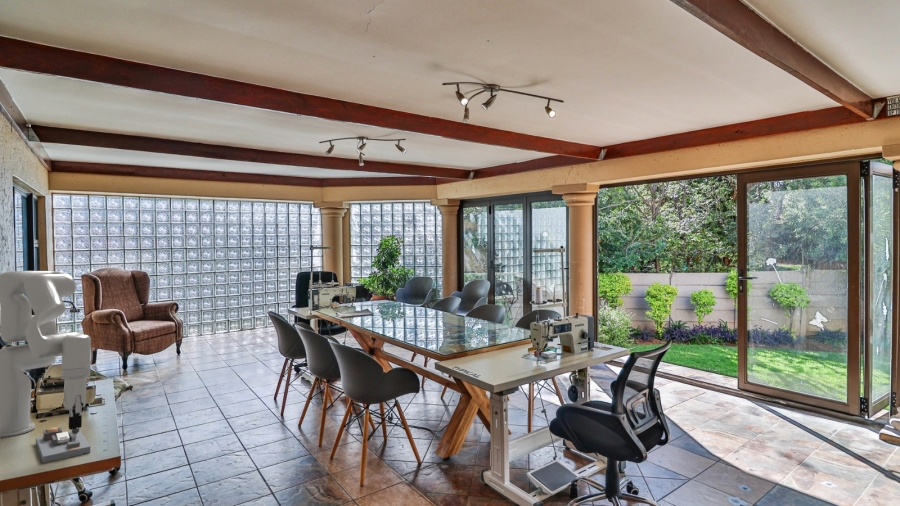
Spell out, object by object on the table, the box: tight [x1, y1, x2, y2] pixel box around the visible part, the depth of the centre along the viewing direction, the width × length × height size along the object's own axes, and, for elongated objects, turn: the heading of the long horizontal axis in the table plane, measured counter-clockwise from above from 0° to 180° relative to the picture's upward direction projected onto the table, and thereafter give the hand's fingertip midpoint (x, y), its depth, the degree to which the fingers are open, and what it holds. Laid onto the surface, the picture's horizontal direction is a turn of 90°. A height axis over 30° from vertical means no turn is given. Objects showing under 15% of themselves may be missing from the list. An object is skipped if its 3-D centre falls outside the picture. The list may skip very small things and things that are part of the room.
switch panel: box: [35, 427, 91, 464], centre depth 160 cm, size 22×12×4 cm, turn 46°
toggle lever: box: [71, 428, 80, 442], centre depth 155 cm, size 2×2×6 cm
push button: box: [46, 426, 59, 433], centre depth 163 cm, size 3×3×3 cm
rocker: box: [56, 430, 70, 443], centre depth 160 cm, size 5×3×1 cm, turn 46°
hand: (75, 427), depth 155 cm, fingers closed
